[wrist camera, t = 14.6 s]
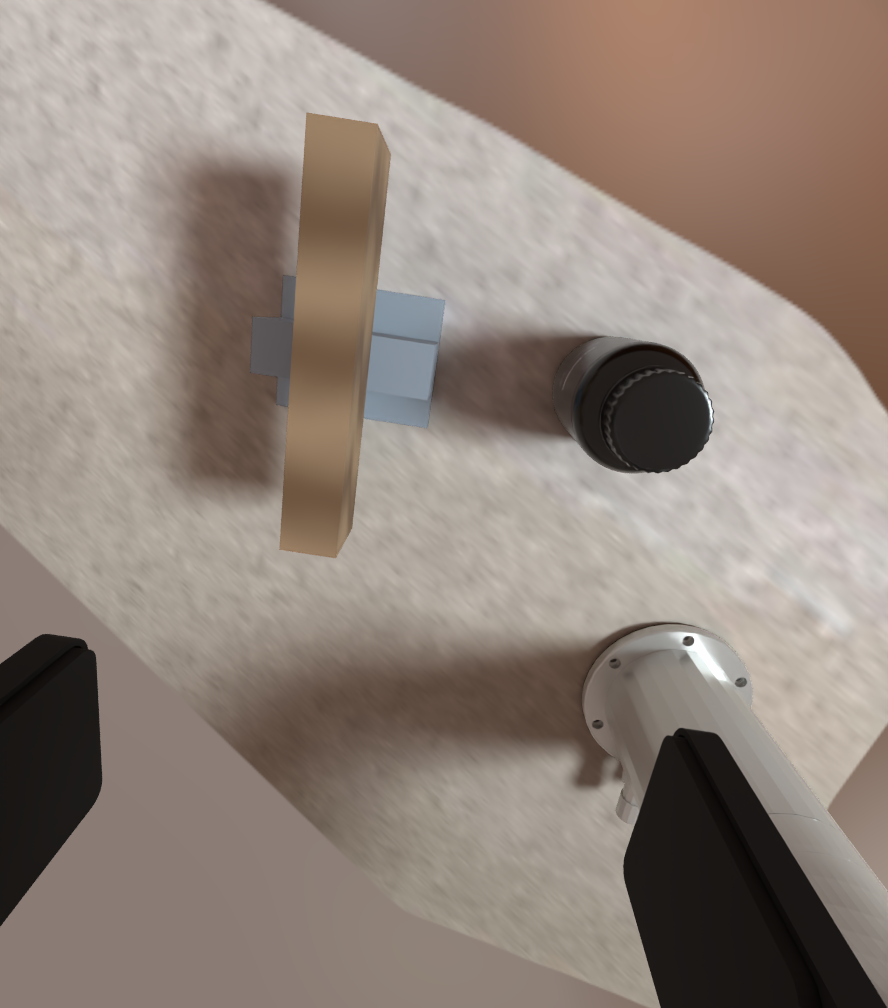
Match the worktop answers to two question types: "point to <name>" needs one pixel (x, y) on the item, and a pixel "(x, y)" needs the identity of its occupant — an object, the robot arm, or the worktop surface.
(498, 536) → the worktop surface
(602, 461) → the supplement bottle
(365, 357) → the walnut bar
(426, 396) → the fulcrum
